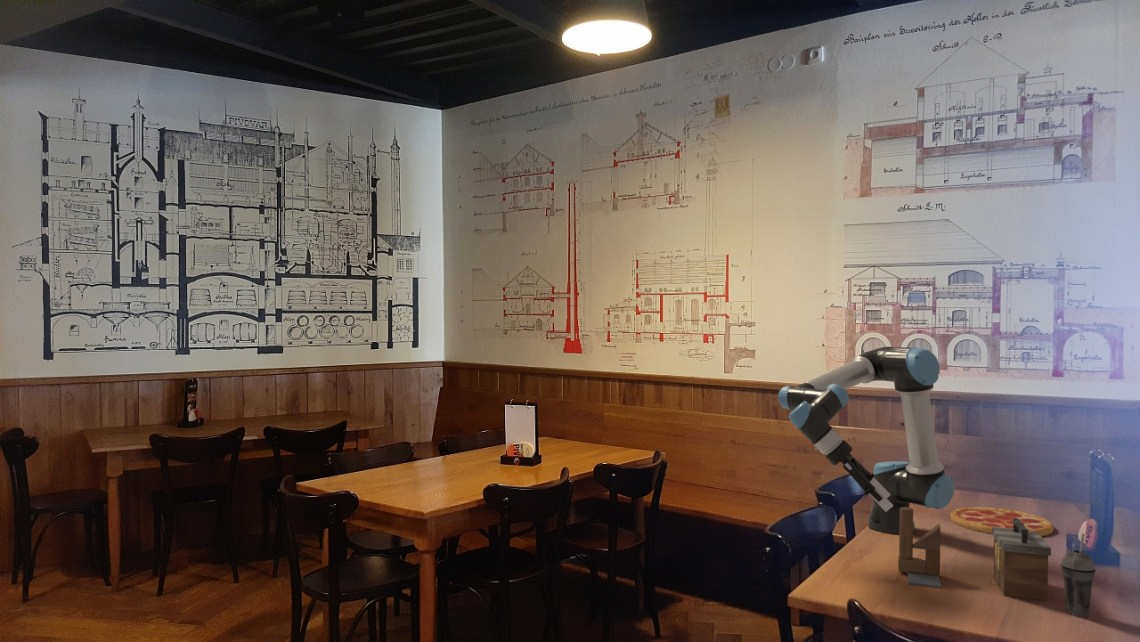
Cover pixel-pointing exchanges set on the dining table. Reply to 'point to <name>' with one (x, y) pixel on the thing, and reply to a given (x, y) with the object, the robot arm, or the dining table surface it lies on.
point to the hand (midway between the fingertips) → (888, 503)
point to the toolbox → (1021, 562)
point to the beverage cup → (1078, 581)
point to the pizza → (998, 519)
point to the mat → (924, 580)
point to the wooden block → (918, 547)
